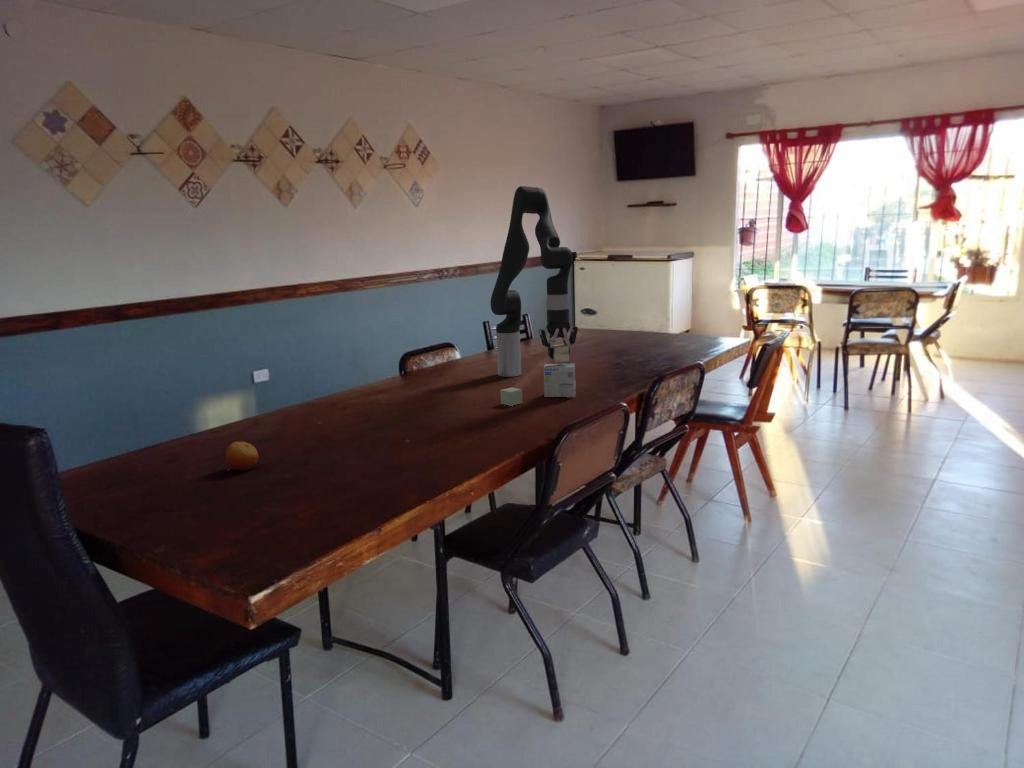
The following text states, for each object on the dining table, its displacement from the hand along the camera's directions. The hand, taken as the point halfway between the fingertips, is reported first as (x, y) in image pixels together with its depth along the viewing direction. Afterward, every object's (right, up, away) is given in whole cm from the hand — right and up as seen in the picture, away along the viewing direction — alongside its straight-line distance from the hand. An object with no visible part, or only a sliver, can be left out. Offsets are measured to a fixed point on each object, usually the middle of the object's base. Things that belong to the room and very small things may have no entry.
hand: (559, 357), depth 252 cm
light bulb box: (+1, -13, +3) cm, 14 cm away
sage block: (-16, -16, -7) cm, 23 cm away
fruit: (-84, -31, -63) cm, 110 cm away
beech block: (0, -1, 0) cm, 1 cm away
